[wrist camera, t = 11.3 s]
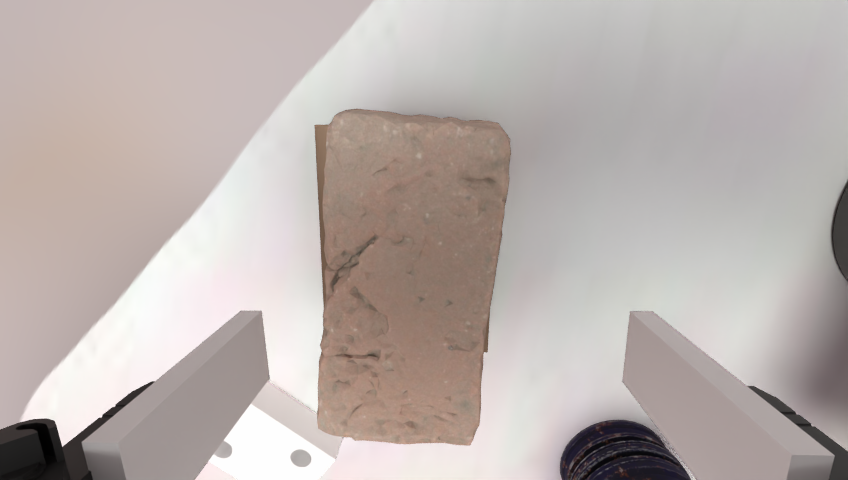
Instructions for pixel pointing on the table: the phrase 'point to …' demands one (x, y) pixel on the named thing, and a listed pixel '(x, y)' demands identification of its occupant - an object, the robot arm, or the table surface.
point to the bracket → (276, 441)
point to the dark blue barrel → (619, 454)
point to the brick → (408, 273)
